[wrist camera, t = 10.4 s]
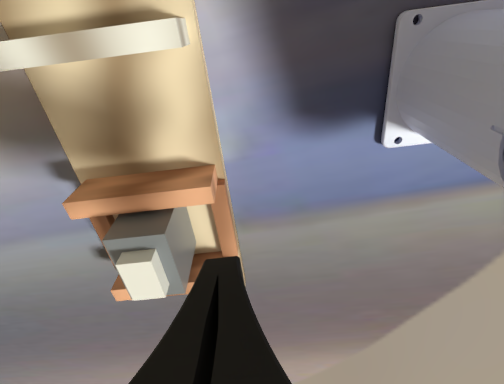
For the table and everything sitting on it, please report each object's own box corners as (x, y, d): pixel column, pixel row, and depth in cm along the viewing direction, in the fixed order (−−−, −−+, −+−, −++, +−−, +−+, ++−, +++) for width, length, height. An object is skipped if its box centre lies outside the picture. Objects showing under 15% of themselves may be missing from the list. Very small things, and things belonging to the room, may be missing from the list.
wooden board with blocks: (130, -348, 10) (70, -544, 6) (245, 279, 26) (245, 317, 23) (-138, -299, 10) (-328, -459, 7) (140, 289, 27) (125, 329, 23)
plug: (181, 188, 20) (160, 246, 15) (196, 242, 23) (182, 306, 17) (131, 194, 20) (93, 253, 15) (152, 246, 23) (125, 312, 18)
